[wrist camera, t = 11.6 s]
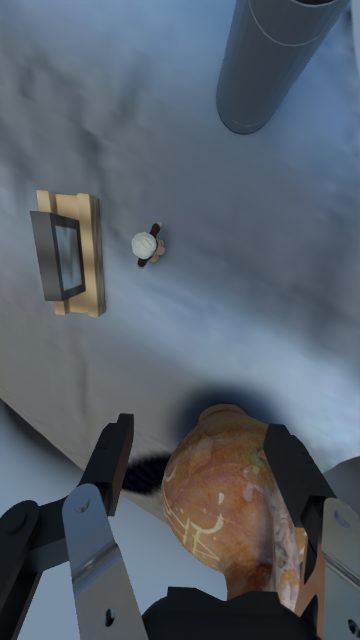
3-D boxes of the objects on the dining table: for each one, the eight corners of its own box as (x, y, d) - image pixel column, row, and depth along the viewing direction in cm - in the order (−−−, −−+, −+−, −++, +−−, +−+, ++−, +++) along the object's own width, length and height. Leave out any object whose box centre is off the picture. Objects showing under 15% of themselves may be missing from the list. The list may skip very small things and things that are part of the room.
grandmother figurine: (160, 270, 38) (150, 280, 26) (140, 264, 37) (122, 272, 26) (171, 228, 35) (166, 218, 23) (150, 221, 35) (135, 207, 23)
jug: (158, 451, 54) (134, 669, 26) (179, 365, 45) (178, 559, 17) (255, 466, 56) (330, 685, 28) (295, 386, 47) (467, 594, 19)
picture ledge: (51, 196, 34) (36, 190, 30) (98, 199, 34) (88, 194, 30) (66, 308, 40) (55, 314, 37) (105, 311, 41) (98, 317, 37)
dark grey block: (63, 219, 33) (29, 210, 26) (79, 220, 33) (49, 212, 26) (72, 290, 37) (44, 300, 30) (86, 291, 37) (62, 301, 30)
